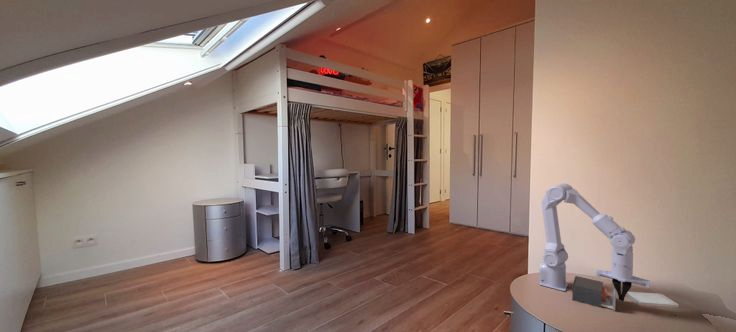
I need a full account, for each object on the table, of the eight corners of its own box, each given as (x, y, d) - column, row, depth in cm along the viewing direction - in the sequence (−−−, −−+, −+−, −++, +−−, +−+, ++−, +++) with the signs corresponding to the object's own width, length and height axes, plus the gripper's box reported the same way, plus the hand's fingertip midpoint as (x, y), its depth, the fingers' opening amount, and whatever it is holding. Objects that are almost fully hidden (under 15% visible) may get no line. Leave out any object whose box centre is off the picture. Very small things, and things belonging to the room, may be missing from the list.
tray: (584, 302, 108) (585, 287, 107) (587, 292, 115) (587, 278, 114) (615, 310, 102) (615, 295, 101) (615, 299, 109) (616, 284, 108)
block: (606, 303, 106) (606, 292, 105) (592, 299, 108) (592, 289, 108) (606, 298, 109) (606, 288, 108) (593, 295, 111) (593, 285, 111)
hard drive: (638, 301, 106) (678, 304, 103) (623, 290, 114) (661, 292, 111) (638, 306, 106) (678, 308, 103) (623, 294, 114) (660, 296, 111)
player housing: (572, 299, 110) (572, 284, 110) (575, 290, 117) (575, 275, 117) (601, 307, 104) (601, 291, 104) (602, 297, 111) (602, 282, 111)
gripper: (595, 262, 105) (595, 297, 106) (650, 273, 95) (649, 311, 96) (597, 256, 110) (596, 290, 111) (649, 266, 101) (648, 302, 101)
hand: (621, 299), depth 104 cm, fingers closed
